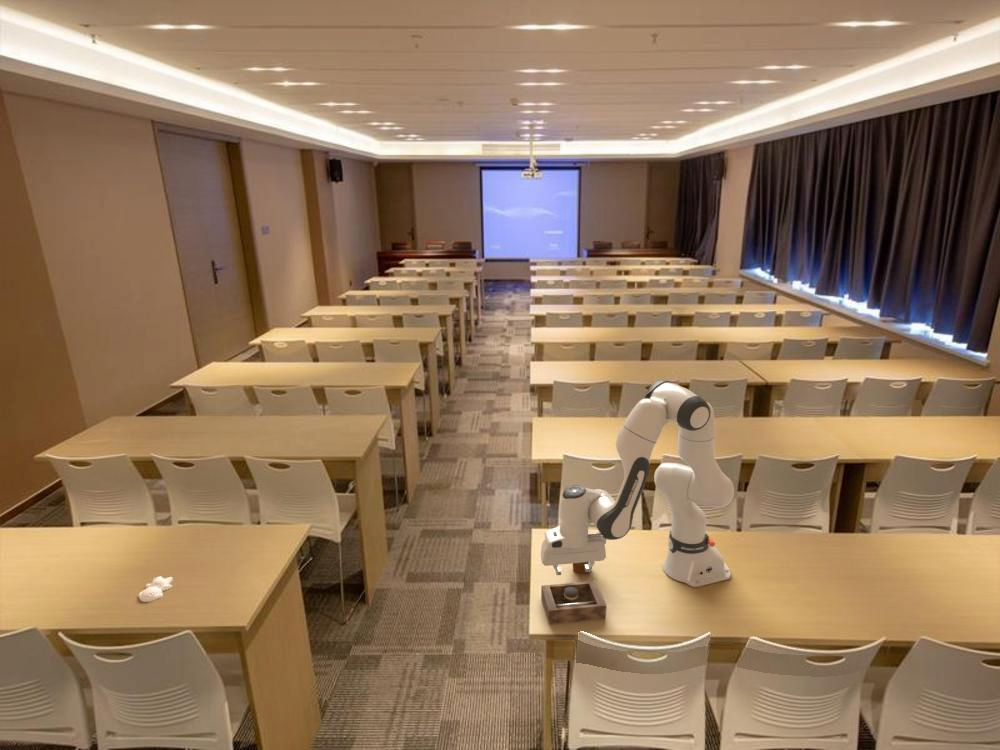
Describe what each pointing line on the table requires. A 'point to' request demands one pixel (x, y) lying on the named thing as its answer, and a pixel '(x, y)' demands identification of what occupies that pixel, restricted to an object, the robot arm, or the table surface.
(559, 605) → the metal rod
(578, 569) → the disposable coffee cup
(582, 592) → the brown wooden frame
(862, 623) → the table surface
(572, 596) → the orange-banded dark cylinder
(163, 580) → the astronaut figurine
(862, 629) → the table surface
